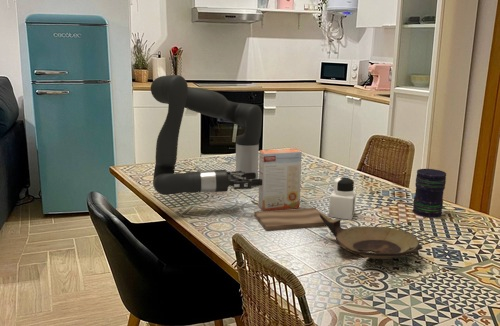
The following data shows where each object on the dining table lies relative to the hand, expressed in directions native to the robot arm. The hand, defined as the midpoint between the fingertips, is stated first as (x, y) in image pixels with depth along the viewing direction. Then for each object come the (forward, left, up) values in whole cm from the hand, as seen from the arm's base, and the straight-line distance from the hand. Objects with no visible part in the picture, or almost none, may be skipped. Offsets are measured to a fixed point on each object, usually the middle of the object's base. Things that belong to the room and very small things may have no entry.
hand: (258, 178), depth 175 cm
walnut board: (+14, +8, -11) cm, 19 cm away
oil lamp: (+41, +22, -11) cm, 48 cm away
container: (+12, +27, -11) cm, 31 cm away
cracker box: (0, +8, -11) cm, 14 cm away
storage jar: (+16, +58, -11) cm, 61 cm away
